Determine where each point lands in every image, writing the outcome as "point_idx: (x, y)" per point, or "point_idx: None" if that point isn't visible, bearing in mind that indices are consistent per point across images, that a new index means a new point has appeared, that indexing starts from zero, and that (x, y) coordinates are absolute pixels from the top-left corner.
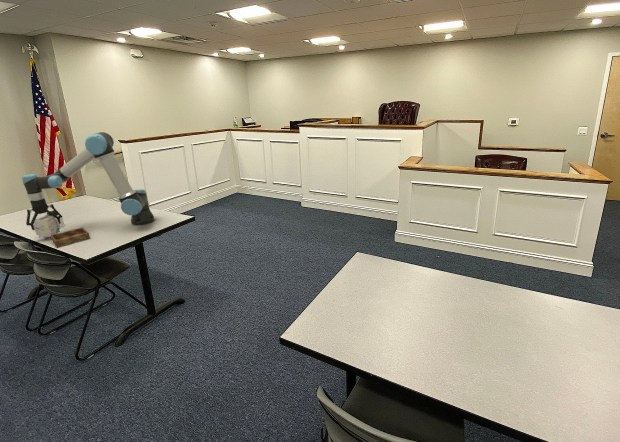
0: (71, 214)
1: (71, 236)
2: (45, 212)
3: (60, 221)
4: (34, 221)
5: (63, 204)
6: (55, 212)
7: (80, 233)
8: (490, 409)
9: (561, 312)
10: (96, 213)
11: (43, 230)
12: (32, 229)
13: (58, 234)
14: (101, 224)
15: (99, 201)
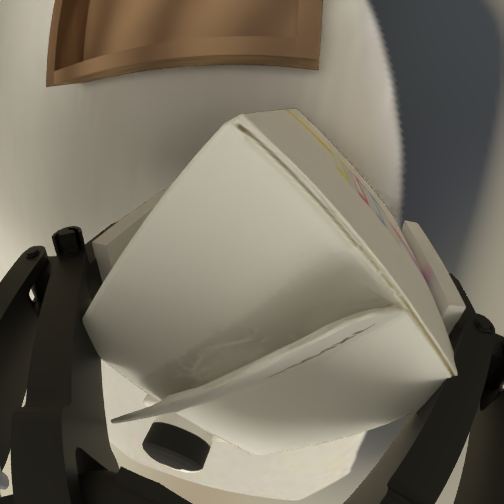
0: (149, 425)
1: (159, 21)
2: (113, 473)
3: None
4: (454, 362)
5: (174, 471)
6: (149, 442)
7: (97, 52)
8: None
9: None
10: None
11: (360, 182)
12: (457, 283)
13: (233, 37)
14: (21, 186)
15: None
